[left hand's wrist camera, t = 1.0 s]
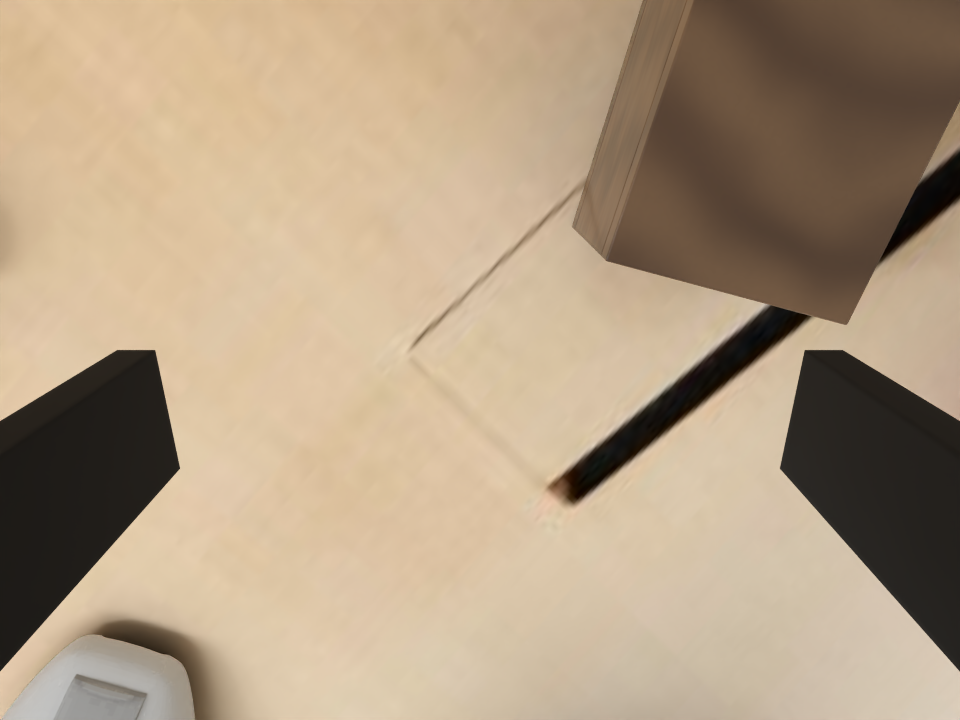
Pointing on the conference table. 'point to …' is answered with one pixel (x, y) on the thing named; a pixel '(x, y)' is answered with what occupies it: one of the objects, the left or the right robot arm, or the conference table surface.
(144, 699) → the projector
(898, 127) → the cabinet
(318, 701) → the conference table surface
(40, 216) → the conference table surface
